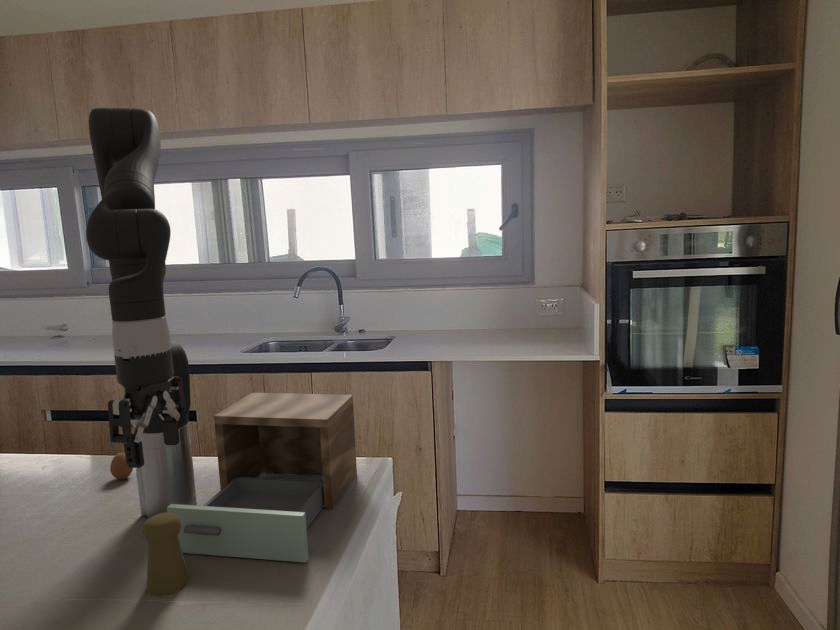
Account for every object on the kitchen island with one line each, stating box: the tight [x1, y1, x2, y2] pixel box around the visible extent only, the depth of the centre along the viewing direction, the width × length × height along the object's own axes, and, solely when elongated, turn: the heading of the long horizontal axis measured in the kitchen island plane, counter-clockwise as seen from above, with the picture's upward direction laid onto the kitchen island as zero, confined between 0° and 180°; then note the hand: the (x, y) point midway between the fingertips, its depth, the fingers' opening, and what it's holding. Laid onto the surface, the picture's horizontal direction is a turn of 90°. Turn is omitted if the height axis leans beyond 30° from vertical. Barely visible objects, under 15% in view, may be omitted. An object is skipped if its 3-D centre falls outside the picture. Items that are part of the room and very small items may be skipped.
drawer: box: [167, 477, 325, 563], centre depth 106 cm, size 24×22×8 cm
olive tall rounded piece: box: [142, 513, 190, 597], centre depth 90 cm, size 6×6×11 cm
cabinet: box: [213, 392, 358, 511], centre depth 121 cm, size 23×16×18 cm
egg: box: [109, 452, 134, 480], centre depth 129 cm, size 4×4×6 cm
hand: (154, 455), depth 87 cm, fingers open, 8 cm apart
